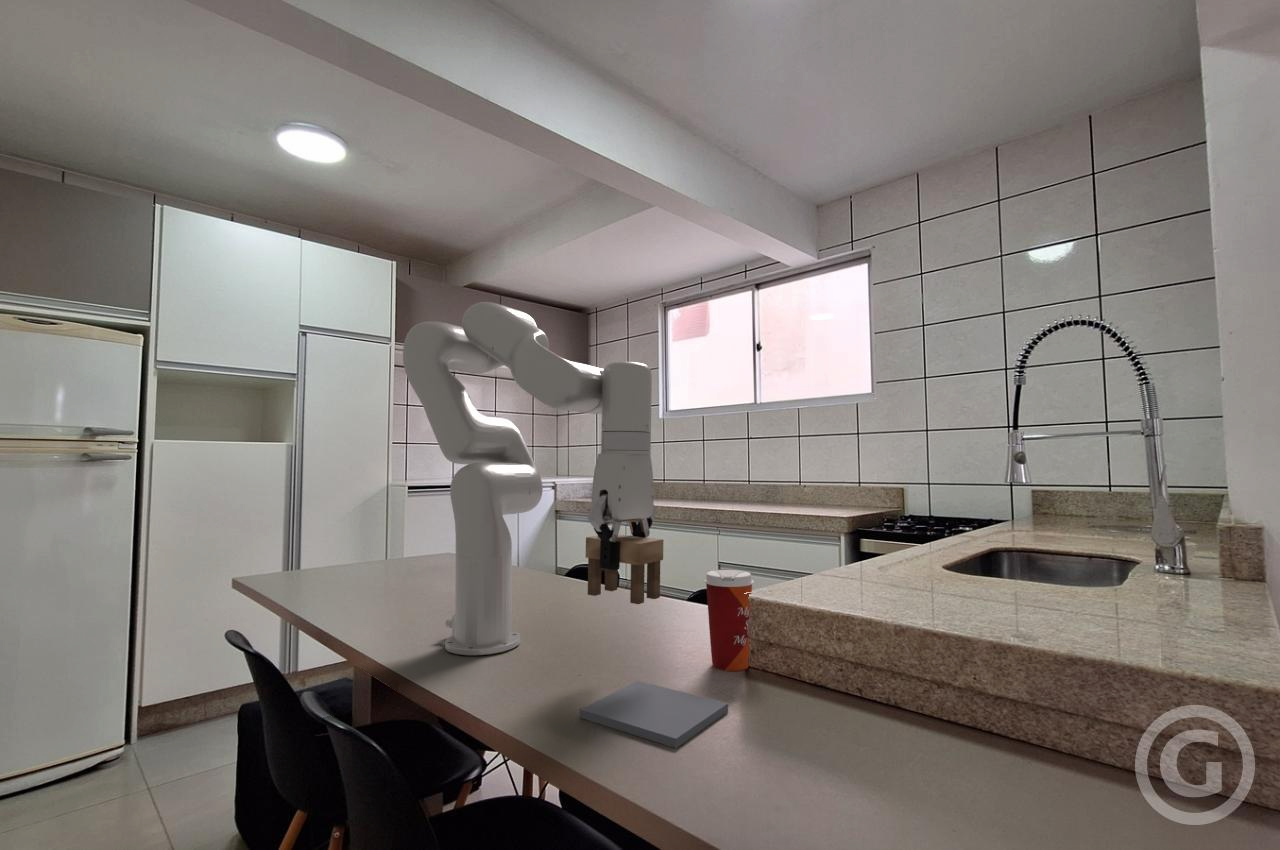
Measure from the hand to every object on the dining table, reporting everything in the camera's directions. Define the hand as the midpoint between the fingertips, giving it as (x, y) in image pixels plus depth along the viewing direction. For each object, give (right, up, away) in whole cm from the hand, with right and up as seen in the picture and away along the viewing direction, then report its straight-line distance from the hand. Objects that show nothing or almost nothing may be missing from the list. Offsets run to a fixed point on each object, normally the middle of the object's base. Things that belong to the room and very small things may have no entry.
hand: (623, 564), depth 89 cm
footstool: (0, -5, 0) cm, 5 cm away
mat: (+4, -15, -15) cm, 22 cm away
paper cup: (+16, -16, +3) cm, 23 cm away
